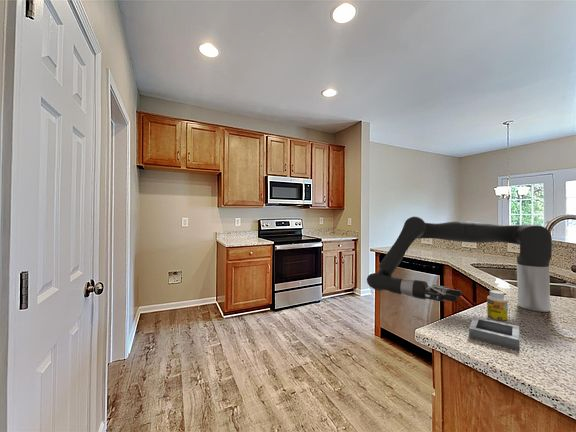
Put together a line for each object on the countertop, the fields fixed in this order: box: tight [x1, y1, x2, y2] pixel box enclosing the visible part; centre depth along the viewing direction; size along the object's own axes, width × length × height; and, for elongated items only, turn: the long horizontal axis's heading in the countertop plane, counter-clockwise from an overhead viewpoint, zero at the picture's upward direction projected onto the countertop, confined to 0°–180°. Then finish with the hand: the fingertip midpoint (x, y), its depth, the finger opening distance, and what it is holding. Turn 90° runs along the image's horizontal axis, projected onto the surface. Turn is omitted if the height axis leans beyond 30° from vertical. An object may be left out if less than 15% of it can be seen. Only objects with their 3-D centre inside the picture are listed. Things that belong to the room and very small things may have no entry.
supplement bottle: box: [486, 289, 509, 324], centre depth 89 cm, size 6×6×10 cm
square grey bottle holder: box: [468, 316, 521, 352], centre depth 78 cm, size 11×11×3 cm
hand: (459, 296), depth 97 cm, fingers open, 8 cm apart
